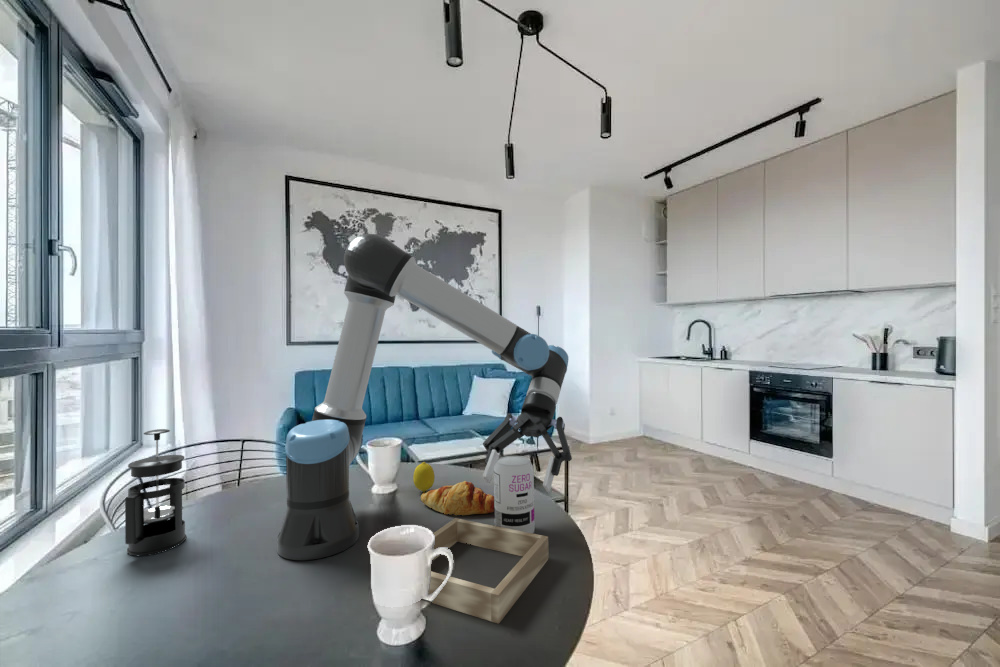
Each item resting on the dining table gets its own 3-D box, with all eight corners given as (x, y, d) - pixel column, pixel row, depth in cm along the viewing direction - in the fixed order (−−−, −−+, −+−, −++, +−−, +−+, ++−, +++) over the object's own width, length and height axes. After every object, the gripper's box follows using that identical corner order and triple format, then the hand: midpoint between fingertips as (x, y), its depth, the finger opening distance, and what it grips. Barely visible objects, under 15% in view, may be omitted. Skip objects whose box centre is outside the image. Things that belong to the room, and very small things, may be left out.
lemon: (430, 496, 112) (429, 465, 112) (410, 495, 113) (409, 464, 113) (437, 489, 117) (437, 459, 117) (418, 488, 118) (417, 458, 118)
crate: (388, 589, 70) (388, 564, 70) (455, 537, 88) (455, 518, 88) (498, 623, 61) (498, 595, 61) (548, 558, 79) (548, 536, 79)
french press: (156, 533, 93) (156, 425, 93) (199, 532, 93) (199, 424, 93) (105, 560, 81) (104, 437, 81) (154, 560, 81) (153, 436, 81)
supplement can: (511, 521, 96) (509, 453, 96) (542, 531, 90) (541, 458, 91) (486, 534, 89) (485, 461, 89) (519, 546, 84) (517, 468, 84)
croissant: (415, 523, 104) (406, 499, 101) (432, 491, 112) (424, 467, 109) (499, 532, 97) (493, 506, 94) (510, 497, 106) (504, 472, 102)
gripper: (596, 413, 100) (578, 502, 86) (499, 407, 111) (470, 484, 97) (589, 393, 95) (569, 483, 81) (489, 389, 106) (456, 467, 93)
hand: (515, 484), depth 89 cm, fingers open, 13 cm apart
